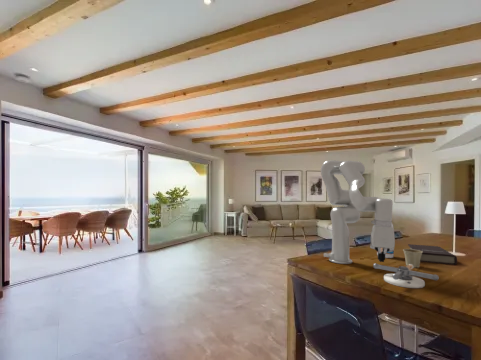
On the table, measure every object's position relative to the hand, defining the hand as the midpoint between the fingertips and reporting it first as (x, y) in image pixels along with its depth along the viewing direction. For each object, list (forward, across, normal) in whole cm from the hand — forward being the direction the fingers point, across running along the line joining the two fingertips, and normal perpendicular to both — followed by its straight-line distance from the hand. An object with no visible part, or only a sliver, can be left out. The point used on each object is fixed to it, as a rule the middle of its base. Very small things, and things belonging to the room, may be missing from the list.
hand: (381, 261), depth 138 cm
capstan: (+4, +7, -9) cm, 12 cm away
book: (+8, +42, +49) cm, 65 cm away
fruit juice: (+8, +14, +45) cm, 48 cm away
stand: (+6, +7, -9) cm, 13 cm away
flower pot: (+7, +22, +23) cm, 33 cm away
